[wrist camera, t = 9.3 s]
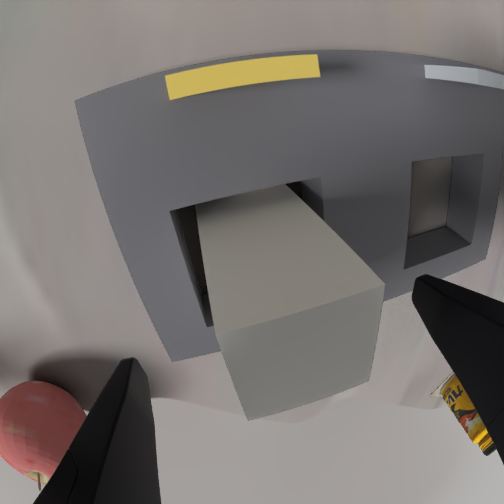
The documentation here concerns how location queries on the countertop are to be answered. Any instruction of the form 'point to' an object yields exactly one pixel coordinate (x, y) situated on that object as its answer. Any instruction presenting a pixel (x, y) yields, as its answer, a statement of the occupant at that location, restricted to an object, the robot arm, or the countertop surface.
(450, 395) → the condiment
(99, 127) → the socket plate
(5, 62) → the countertop surface
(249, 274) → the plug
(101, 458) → the robot arm
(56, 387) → the apple
